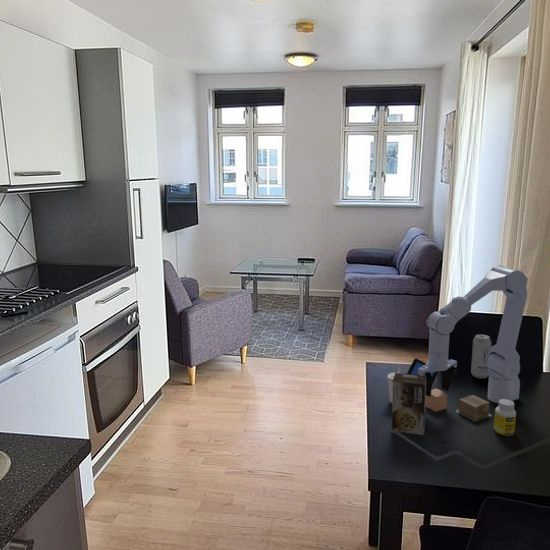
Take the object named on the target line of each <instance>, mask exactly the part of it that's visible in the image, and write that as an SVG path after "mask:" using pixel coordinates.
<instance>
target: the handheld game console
mask: <svg viewBox="0 0 550 550" xmlns="http://www.w3.org/2000/svg"><path fill="white" fill-rule="evenodd" d="M425 364H427V363H426V362H424V361H423V360H420V359H418V358H414V359H413V361H412V363H411V364H410V367H409V369H408V371H407V373H406V374H413V375H417V372H418V368H420V367H422V366H424V365H425ZM439 373H440V371H436V372H432V373H430V375H431V376H433V377H435V379H434V382H435V380H436V379H437V377H438V374H439ZM434 382H433V384H432V386H433V385H434Z"/></svg>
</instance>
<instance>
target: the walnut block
mask: <svg viewBox="0 0 550 550" xmlns="http://www.w3.org/2000/svg"><path fill="white" fill-rule="evenodd" d="M458 400H459V401H458V402H459V403H458V410H459V412H461V413H463V414H465V415H467V416H469V417H471V418H472V419H474V420H475V419H478V418H480V417H483V416H486V415H488V413H489V412H490V402H489V401H487V400H485V399H483V398H481V397H478V396H476V395H474V394H472V395H469V396H466V397H462V398H460V399H458ZM489 414H490V413H489Z"/></svg>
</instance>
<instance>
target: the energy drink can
mask: <svg viewBox="0 0 550 550" xmlns="http://www.w3.org/2000/svg"><path fill="white" fill-rule="evenodd" d="M491 347H492V340H491V338H490V336H489V335H487V334H480V333H479V334H476V335H475V336H474V338H473V340H472V352H471V365H470V366H471V368H470V372H471V374H472V377H474V378H476V379H487V378H488V377H489V372H488V368H487V367H486V365H485V358H486V356H487V355H488V353H489V351H490V348H491Z"/></svg>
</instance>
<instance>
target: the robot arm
mask: <svg viewBox="0 0 550 550" xmlns="http://www.w3.org/2000/svg"><path fill="white" fill-rule="evenodd" d="M528 280H529V278H528V277H527V275H526V274H525V273H524V272H523V271H521V270H518V269H513V268H509V267H505V266H503V265H501V264H498V265H495V266H493V267H492V268H491V269H490V270H488V271H486V273H485V275H484V278H482V279H481V280H480V281H479V282H478V283H477V284H475V286H473V287H472V288H471V289H470V290H469V291H468V292H467V293H466V294H465V295H463V296H456V297H453V298H451V301H450V302H449V303H448V304H446V305H445V306H444V307H441V308H440V309H439V311H434V312H432V313H431V314H430V315H429V316H428V318H427V319H426V320H425V321H426V326H427V327H428V328H429V329H428V330H429V331H428V332H429V337H428V338H429V339H428V340H429V342H428V360H426V362H425V363H426V364H425V365H424V366H422V367H420V368H418V372H417V375H423V376H426V396H431V391H432V390H433V389H432V388H433V385H434V383H433V382H435V381H434V379H435V377H433V376H431V375H430V373H432V372H436V371H439V372H440V376H441V389H442V390H443V391H444V392H445V391H446V392H448V391H450V387H451V384H452V382H453V380H454V378H455V377H456V375H457V374H458V369H457V366H458V365H457V364H458V361H457V360H454V359H449V347H450V333H452V332H453V330H454V329H455V325H456V324H457V323H458V322H459V321H460V320H461V319H462V318H464V317H465V316H467V314H469V313H470V312H471V311H472V306H473V305H474V304H476V303H477V302H478V301H480V300H481V299H482V298H484V297H486V296H488V294H490V293H491V292H493V291H494V292H495V291H496V292H497V291H499V292H502V293H503V294H504V296H505V297H506V300H505V303H504V308H503V311H502V312H503V313H502V317H501V322H500V327H499V332H498V334H497V335H498V336H497V340H496V344H495V345H491V348H490V351H489V353H488V355H487V356H486V358H485V365H486V367H487V368H488V372H489V375H488V384H487V400H489V401H490V402H493V403H496V404H499V400H501V399H507V400H511V401H513V402H514V401H516V400H519V399H520V396H519V395H520V387H521V381H520V378H519V376H518V375H519V374H520V371H521V365H520V360H521V357H520V355H519V353H518V352H517V350H516V347H517V341H518V337H519V333H520V329H521V325H522V320H523V316H524V311H525V307H526V302H527V298H528V288H527V285H528ZM435 380H436V379H435ZM432 384H433V385H432Z"/></svg>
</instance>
